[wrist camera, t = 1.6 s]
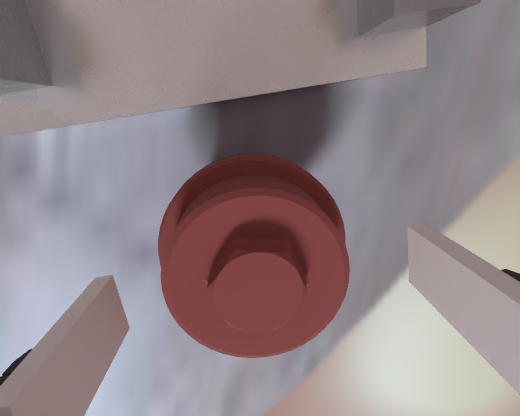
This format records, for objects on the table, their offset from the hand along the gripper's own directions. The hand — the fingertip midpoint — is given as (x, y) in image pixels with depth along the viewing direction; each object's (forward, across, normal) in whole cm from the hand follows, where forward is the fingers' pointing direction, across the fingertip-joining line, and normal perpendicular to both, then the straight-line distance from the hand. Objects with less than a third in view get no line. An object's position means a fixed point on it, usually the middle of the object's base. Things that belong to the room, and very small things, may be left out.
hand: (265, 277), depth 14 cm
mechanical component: (+11, 0, 0) cm, 11 cm away
